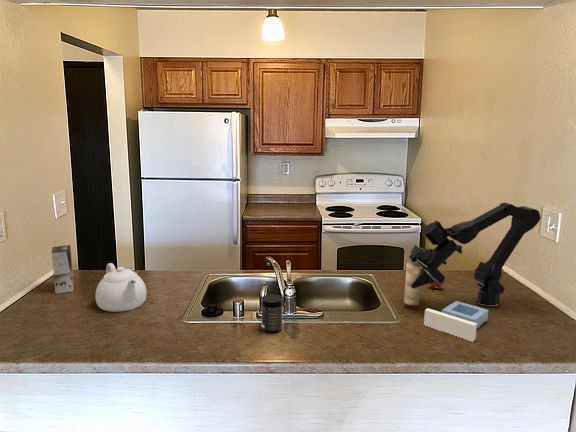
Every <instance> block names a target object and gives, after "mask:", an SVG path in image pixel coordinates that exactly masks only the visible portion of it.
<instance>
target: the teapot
mask: <svg viewBox="0 0 576 432" xmlns="http://www.w3.org/2000/svg"><path fill="white" fill-rule="evenodd" d="M105 272H106V273H105V274H104V276H103V278H102V279H101V280H100V281H99V283H98V285H97V287H96V290H95V302H96V305H97V307H98V308H99V309H101V310H103V311H106V312H113V313H115V312H117V313H119V312H127V311H133V310H135V309H137V308H139V307H141V306H142V305H144V303H145V302H146V300H147V286H146V284H145V282H144V280H143V279H142V277H140V276H139V275H138V273H137V272H135V271H133V270H131V269H129V268H125V267H123V266H119V267H117V268H116V266H115V265H114V263H112V262H110V263H109V262H108V263H107V264H106V268H105Z"/></svg>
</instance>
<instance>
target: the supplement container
mask: <svg viewBox="0 0 576 432" xmlns="http://www.w3.org/2000/svg"><path fill="white" fill-rule="evenodd" d="M260 304H261V330H262V331H263V332H265V333H268V334H277V333H280V332H281V331H282V330H283V317H284V316H283V309H284V306H283V305H284V297H283V296H281V295H279V294H271V293H270V294H266V295H263V296H261V303H260Z"/></svg>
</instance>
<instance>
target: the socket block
mask: <svg viewBox="0 0 576 432" xmlns="http://www.w3.org/2000/svg"><path fill="white" fill-rule="evenodd" d="M441 312H442V313H445V314H448V315H451V316H455V317H458V318H461V319H464V320H467V321H471V322H474V323H477V328H478V327H479V328H481V327H482V326H483V325H484V324H483V323H484V322H486V321H487V322H488V318H489V309H487V308H482V307H479V306H476V305H472V304H468V303H465V302H462V301H458V300H455V301H454V302H452V303H450V304H449V305H447V306H445V307H444V308H442V309H441ZM487 322H486V323H487ZM482 324H483V325H482ZM481 325H482V326H481ZM480 326H481V327H480ZM479 328H478V329H479Z"/></svg>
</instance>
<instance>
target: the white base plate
mask: <svg viewBox="0 0 576 432" xmlns="http://www.w3.org/2000/svg"><path fill="white" fill-rule="evenodd" d="M424 325H425V326H424ZM423 326H424V327H427V326H428V327H427V328H430V327H431V329H433V328H434V329H433V330H437V331H439V332H442V331H443V332H442V333H444V332H446V333H445V334H447V333H449V334H448V335H450V334H451V336H453V335H454V337H456V336H457V338H459V337H460V338H459V339H462V338H463V340H466V341H469V342H470V343H473V342H474V340H475V341H476V338H477V330H478V329H477V323H474V322H471V321H467V320H464V319H461V318H458V317H455V316H451V315H448V314H445V313H442V311H437V310H434V309H431V308H428V307H427V308H426V309H425V310H424V318H423ZM476 329H477V330H476Z"/></svg>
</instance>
